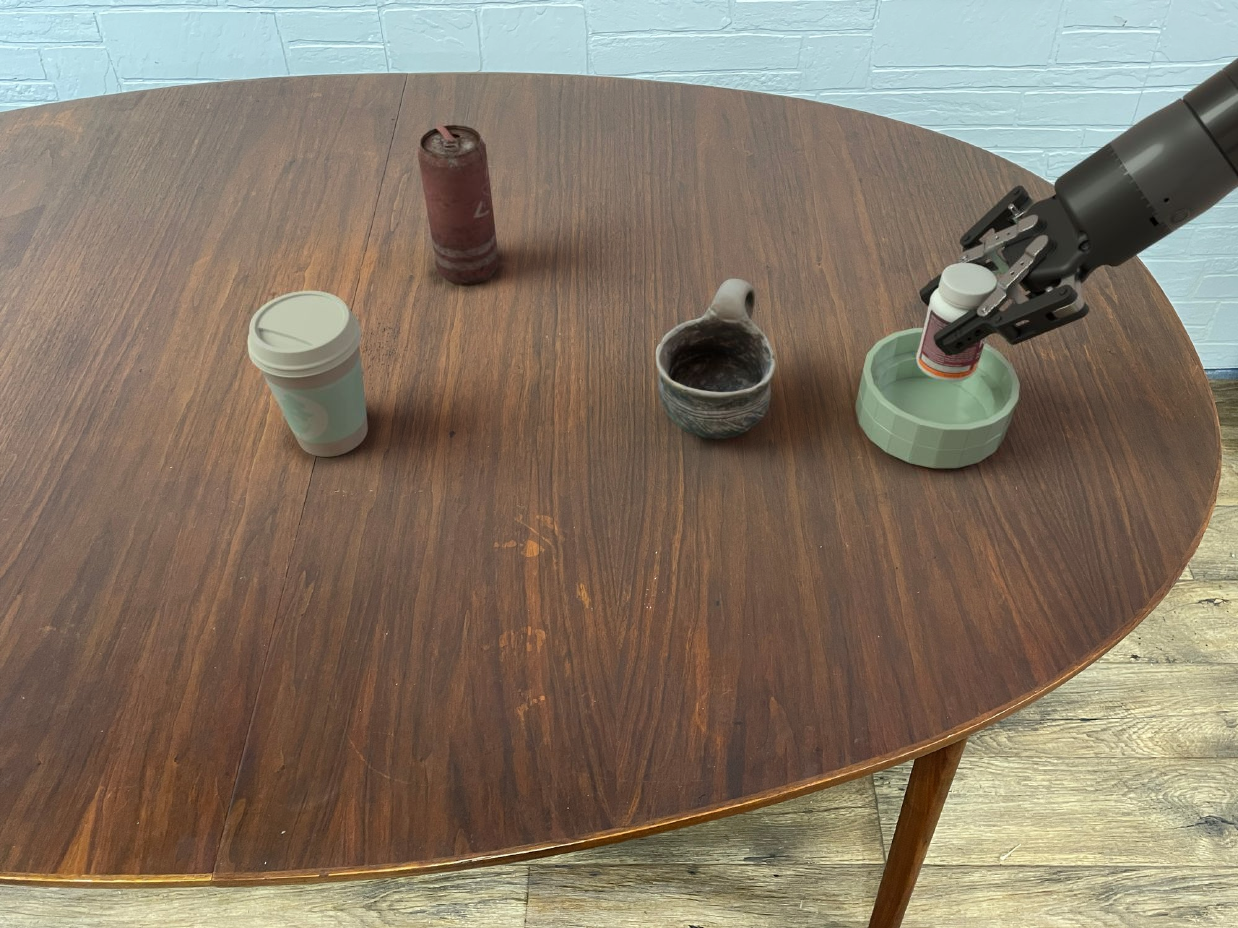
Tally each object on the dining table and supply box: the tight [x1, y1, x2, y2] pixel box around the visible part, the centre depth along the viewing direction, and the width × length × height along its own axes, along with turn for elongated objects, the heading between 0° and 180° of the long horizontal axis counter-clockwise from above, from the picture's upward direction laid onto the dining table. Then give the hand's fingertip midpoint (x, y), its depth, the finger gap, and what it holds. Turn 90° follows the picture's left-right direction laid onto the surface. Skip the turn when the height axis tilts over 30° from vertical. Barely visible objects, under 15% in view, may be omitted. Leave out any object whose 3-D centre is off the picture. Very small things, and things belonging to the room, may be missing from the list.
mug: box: [655, 278, 776, 440], centre depth 85 cm, size 10×12×10 cm
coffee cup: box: [247, 290, 369, 458], centre depth 83 cm, size 9×8×12 cm
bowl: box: [854, 327, 1021, 469], centre depth 86 cm, size 12×12×5 cm
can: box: [417, 124, 500, 286], centre depth 98 cm, size 6×6×14 cm
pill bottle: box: [916, 262, 998, 382], centre depth 80 cm, size 5×5×8 cm
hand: (933, 323), depth 80 cm, fingers closed on pill bottle, 4 cm apart
